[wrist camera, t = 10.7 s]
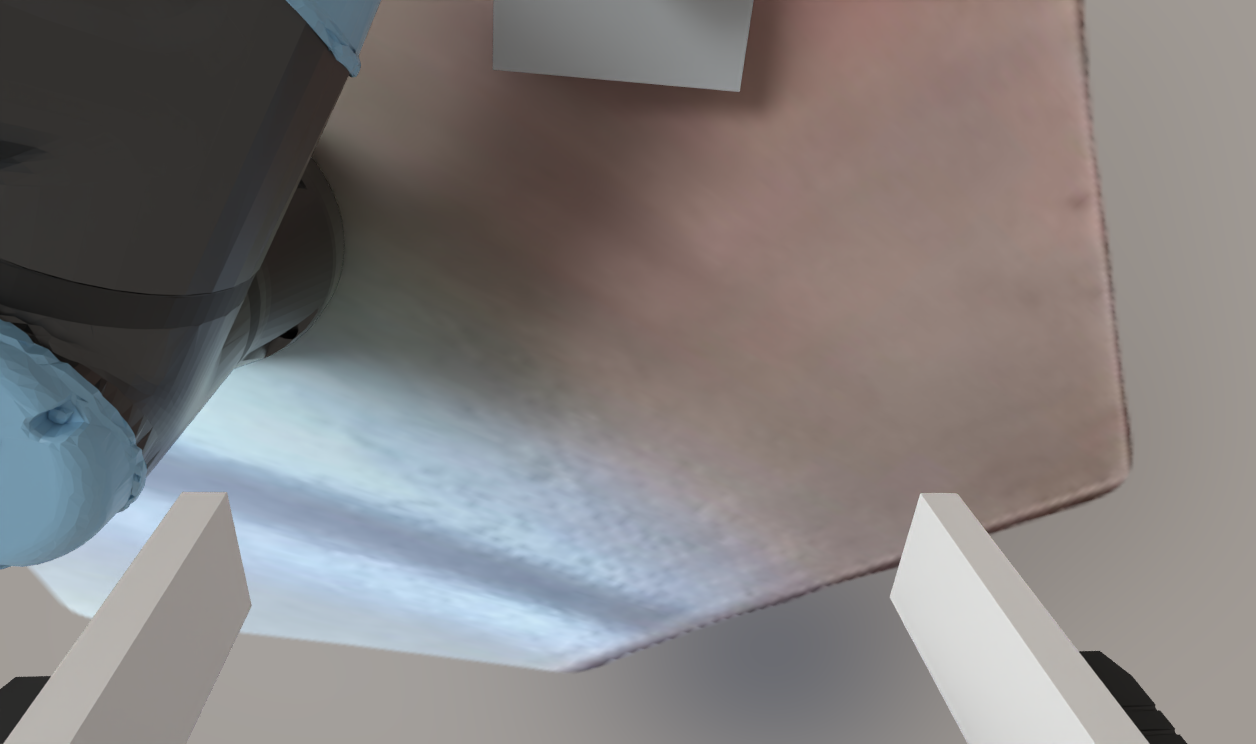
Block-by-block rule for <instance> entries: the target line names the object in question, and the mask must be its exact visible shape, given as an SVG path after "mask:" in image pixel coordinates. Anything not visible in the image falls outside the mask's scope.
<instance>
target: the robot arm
mask: <svg viewBox="0 0 1256 744" xmlns="http://www.w3.org/2000/svg"><path fill="white" fill-rule="evenodd" d="M380 2H381V0H0V569H4V568H7V567H10V566H21V567H23V566H31V565H38V564H41V563H45V562H48V561H51V560H54V559H56V558H59V557H61V556H63V555H65V554H68V553H69V552H71V551H73V550H75V549H77V548H78V547H80V546H82V545H83V544H84V543H86V542H87V541H88V540H90V539H91V538H92V537H93V536H95V535H96V534H97V533H98V532H99V531H100V530H101V529H102V528H103V527H104V526H105V525H106V524H107V523H108V522H109V521H110V519H111V518H112V517H113V516H114V515H115V514H116V513H118V512H121V511H124V510H125V509H127V508H128V507H129V505H130V504H131V503H133V502H134V501H135V500H136V499H137V498H138V496H139V495H140V493H141V491H142V490H143V488H144V486H145V480H146V477H147V476H148V475H149V474H150V473H151V471H152V470H153V469H154V468H155V466H156V465H157V464H158V463H159V461H160V460H161V459H162V458H163V456H164V455H165V454H166V453H167V451H168V450H169V449H170V448H171V446H172V445H173V444H174V443H175V441H176V440H177V439H178V438H179V436H180V435H181V434H182V433H183V431H184V430H185V429H186V428H187V426H188V425H189V424H190V423H191V422H192V420H193V419H194V418H195V417H196V415H197V414H198V413H199V412H200V410H201V409H202V408H203V407H204V405H205V404H206V403H207V402H208V400H209V399H210V398H211V397H212V395H213V394H214V393H215V392H216V390H217V389H218V388H219V387H220V385H221V384H222V383H223V382H224V380H225V379H226V378H227V377H228V375H229V374H230V373H231V372H232V371H233V369H235V368H238V367H241V366H244V365H246V364H249V363H252V362H255V361H258V360H260V359H263V358H266V357H268V356H270V355H273V354H275V353H277V352H279V351H280V350H282V349H284V348H286V347H287V346H289V345H290V344H292V343H293V342H294V341H296V340H297V339H298V338H299V337H301V336H302V335H303V334H304V333H305V332H306V331H307V330H308V329H309V328H310V327H311V326H312V325H313V323H314V322H315V321H316V319H317V318H318V317H319V315H320V314H321V312H322V311H323V310H324V308H325V307H326V305H327V304H328V302H329V301H330V299H331V297H332V295H333V293H334V291H335V289H336V287H337V284H338V282H339V278H340V275H341V271H342V266H343V259H344V233H343V226H342V221H341V216H340V213H339V209H338V206H337V203H336V200H335V197H334V195H333V193H332V191H331V188H330V186H329V184H328V183H327V181H326V179H325V177H324V175H323V174H322V172H321V170H320V169H319V167H318V166H317V165H316V163H315V162H314V160H313V159H312V158H311V156H312V154H313V152H314V150H315V147H316V145H317V143H318V141H319V139H320V136H321V134H322V132H323V130H324V128H325V126H326V123H327V121H328V119H329V117H330V115H331V113H332V110H333V108H334V106H335V104H336V102H337V100H338V97H339V95H340V93H341V91H342V89H343V87H344V84H345V82H346V80H347V78H348V76H350V77H356V76H357V75H358V73H359V71H360V67H361V63H360V60H359V53H360V51H361V48H362V46H363V43H364V41H365V38H366V36H367V33H368V31H369V29H370V26H371V24H372V21H373V19H374V16H375V14H376V11H377V9H378V6H379V4H380ZM890 599H891V600H892V602H893V604H894V606H895V608H896V610H897V612H898V614H899V616H900V618H901V619H902V621H903V623H904V625H905V627H906V629H907V631H908V632H909V634H910V636H911V638H912V640H913V642H914V644H915V646H916V648H917V649H918V651H919V653H920V655H921V657H922V659H923V661H924V662H925V664H926V666H927V668H928V670H929V672H930V674H931V675H932V678H933V679H934V681H935V683H936V685H937V687H938V689H939V691H940V692H941V694H942V696H943V698H944V700H945V702H946V704H947V706H948V707H949V709H950V711H951V713H952V715H953V717H954V719H955V721H956V722H957V724H958V726H959V728H960V730H961V732H962V734H963V736H964V737H965V739H966V741H967V743H968V744H1187V743H1186V742H1185V740H1184V739H1183V738H1182V737H1181V736H1180V735H1177V734H1176V733H1175V728H1174V727H1173V726H1172V725H1171V723H1170V722H1169V721H1168V720H1167V718H1166V717H1165V716H1164V715H1163V713H1162V712H1161V711H1157V710H1156V708H1155V704H1154V702H1153V701H1152V700H1151V699H1150V698H1149V696H1148V695H1147V694H1146V693H1145V691H1144V690H1143V689H1142V688H1141V687H1140V685H1139V684H1138V683H1137V682H1136V680H1135V679H1134V678H1133V677H1132V676H1131V675H1130V674H1129V673H1127V672H1126V671H1125V670H1123V669H1122V668H1121V667H1120V666H1118V665H1117V664H1116V663H1115V662H1113V661H1112V660H1111V659H1109V658H1108V657H1107V656H1106V655H1104V654H1103V653H1102V652H1100V651H1082V652H1081V651H1080V652H1079V651H1078V650H1077V649H1076V647H1075V646H1074V645H1073V643H1072V642H1071V641H1070V640H1069V638H1068V637H1067V636H1066V634H1065V633H1064V632H1063V630H1062V629H1061V628H1060V627H1059V625H1058V624H1057V623H1056V621H1055V620H1054V619H1053V617H1052V616H1051V615H1050V614H1049V612H1048V611H1047V610H1046V608H1045V607H1044V606H1043V604H1042V603H1041V602H1040V601H1039V599H1038V598H1037V597H1036V595H1035V594H1034V593H1033V591H1032V590H1031V589H1030V587H1029V586H1028V585H1027V584H1026V582H1025V581H1024V580H1023V578H1022V577H1021V576H1020V574H1018V572H1017V571H1016V569H1015V568H1014V567H1013V565H1012V564H1011V563H1010V561H1009V560H1008V559H1007V558H1006V556H1005V555H1004V554H1003V552H1002V551H1001V550H1000V548H999V547H998V546H997V545H996V543H995V542H994V541H993V539H992V538H991V537H990V535H989V534H988V533H987V531H986V530H985V529H984V528H983V526H982V525H981V524H980V522H979V521H978V520H977V518H976V517H975V516H974V515H973V513H972V512H971V511H970V509H969V508H968V507H967V505H966V504H965V503H964V502H963V500H962V499H961V498H960V496H959V495H958V494H957V493H920V497H919V500H918V503H917V507H916V510H915V513H914V517H913V520H912V523H911V527H910V530H909V534H908V537H907V540H906V544H905V547H904V550H903V554H902V557H901V561H900V564H899V567H898V571H897V574H896V577H895V581H894V584H893V587H892V591H891V595H890ZM250 608H251V601H250V596H249V592H248V587H247V583H246V578H245V573H244V569H243V564H242V560H241V555H240V550H239V546H238V541H237V537H236V532H235V527H234V523H233V518H232V514H231V509H230V504H229V500H228V495H227V492H182V493H181V494H180V496H179V497H178V499H177V500H176V501H175V503H174V504H173V506H172V507H171V508H170V510H169V511H168V513H167V514H166V515H165V517H164V518H163V520H162V521H161V523H160V524H159V525H158V527H157V528H156V530H155V531H154V532H153V534H152V535H151V537H150V538H149V539H148V541H147V542H146V544H145V545H144V546H143V548H142V549H141V551H140V552H139V553H138V555H137V556H136V558H135V559H134V561H133V562H132V563H131V565H130V566H129V568H128V569H127V570H126V572H125V573H124V575H123V576H122V577H121V579H120V580H119V582H118V583H117V584H116V586H115V587H114V589H113V590H112V591H111V593H110V594H109V596H108V597H107V599H106V600H105V601H104V603H103V604H102V606H101V607H100V608H99V610H98V611H97V613H96V614H95V615H94V617H93V618H92V620H91V621H90V623H89V624H88V625H87V627H86V628H85V630H84V631H83V632H82V634H81V635H80V637H79V638H78V639H77V641H76V642H75V644H74V645H73V646H72V648H71V649H70V651H69V652H68V653H67V655H66V656H65V658H64V659H63V660H62V662H61V663H60V665H59V666H58V668H57V669H56V670H55V672H54V673H53V675H52V676H44V677H43V676H39V677H15V678H14V679H13V680H11V681H10V682H9V683H8V684H6V685H5V686H4V687H3V688H1V689H0V744H186V743H187V741H188V739H189V737H190V735H191V732H192V730H193V728H194V726H195V724H196V722H197V720H198V718H199V716H200V714H201V711H202V709H203V707H204V705H205V703H206V701H207V698H208V697H209V695H210V692H211V690H212V688H213V686H214V684H215V682H216V679H217V677H218V676H219V674H220V671H221V669H222V667H223V665H224V663H225V661H226V659H227V657H228V655H229V652H230V650H231V648H232V646H233V644H234V642H235V640H236V638H237V636H238V633H239V631H240V629H241V627H242V625H243V623H244V621H245V619H246V617H247V615H248V612H249V610H250Z"/></svg>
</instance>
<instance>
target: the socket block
mask: <svg viewBox="0 0 1256 744" xmlns="http://www.w3.org/2000/svg"><path fill="white" fill-rule="evenodd" d="M753 1H754V0H494V6H493V70H501V71H512V72H523V73H534V74H545V75H557V76H568V77H579V78H590V79H601V80H612V81H624V82H635V83H646V84H657V85H668V86H679V87H691V88H702V89H713V90H724V91H735V92H740V86H741V80H742V73H743V66H744V60H745V53H746V47H747V40H748V34H749V27H750V20H751V14H752V7H753Z"/></svg>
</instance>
